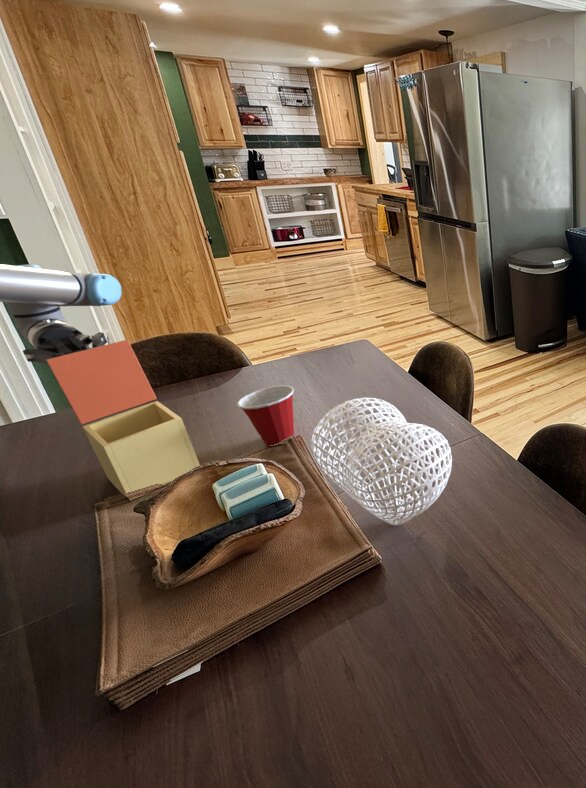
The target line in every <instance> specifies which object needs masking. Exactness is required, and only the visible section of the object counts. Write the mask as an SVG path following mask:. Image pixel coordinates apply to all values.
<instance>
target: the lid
mask: <svg viewBox="0 0 586 788" xmlns="http://www.w3.org/2000/svg"><path fill="white" fill-rule="evenodd" d="M90 348H91V349H87V350H83V351H79V352H75V353H71V354H67V355H63V356H59V357H55V358H51V359H47V360H46V361H47V363H48V364H47V365H48V367H49V369H50V370H51V371H52V374H53V376H54V378H55V380H56V381H57V383H58V385H59V387H60V388H61V390H62V393H63V394H64V396H65V398H66V400H67V402H68V404H69V405H70V407H71V409H72V412H73V413H74V415H75V416H76V418H77V420H78V422H79V424H80V425H84V424H87V423H91V422H93V421H96V420H98V419H99V420H100V419H103V418H106V417H107V416H112V415H114V414H118V413H119V412H120V413H121V412H124V411H127V410H130V409H131V408H132V409H133V408H136V407H139V406H142V405H145V404H148V403H150V402H153V401H155V400H157V396H156V394H155V392H154V390H153V388H152V385H151V384H150V382H149V380H148V378H147V376H146V374H145V371H144V369H143V368H142V366H141V363H140V361H139V359H138V358H137V356H136V354H135V352H134V350H133V349H134V348H132V345H131V343H130V341H129V340H128V339H124V340H120V341H115V342H111V343H108V344H107V343H106V344H105V345H103V346H99V347H95V348H92V347H90Z"/></svg>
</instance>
